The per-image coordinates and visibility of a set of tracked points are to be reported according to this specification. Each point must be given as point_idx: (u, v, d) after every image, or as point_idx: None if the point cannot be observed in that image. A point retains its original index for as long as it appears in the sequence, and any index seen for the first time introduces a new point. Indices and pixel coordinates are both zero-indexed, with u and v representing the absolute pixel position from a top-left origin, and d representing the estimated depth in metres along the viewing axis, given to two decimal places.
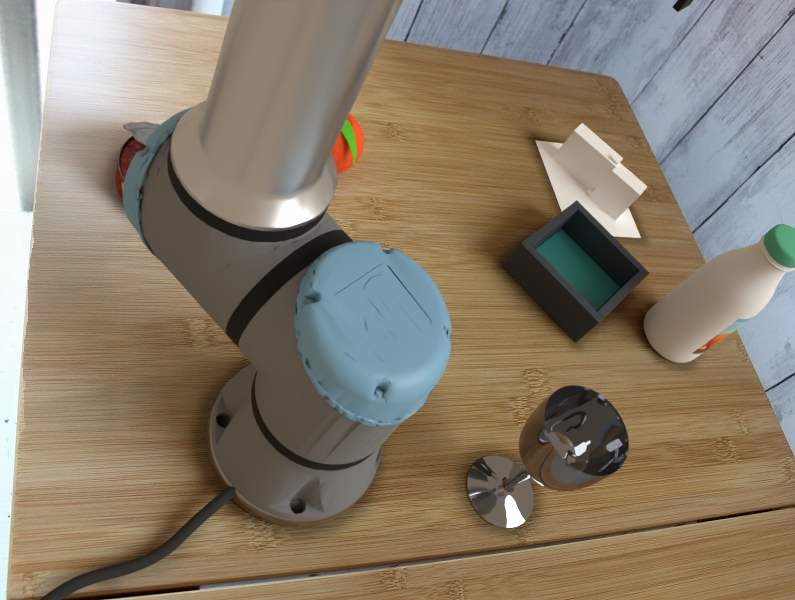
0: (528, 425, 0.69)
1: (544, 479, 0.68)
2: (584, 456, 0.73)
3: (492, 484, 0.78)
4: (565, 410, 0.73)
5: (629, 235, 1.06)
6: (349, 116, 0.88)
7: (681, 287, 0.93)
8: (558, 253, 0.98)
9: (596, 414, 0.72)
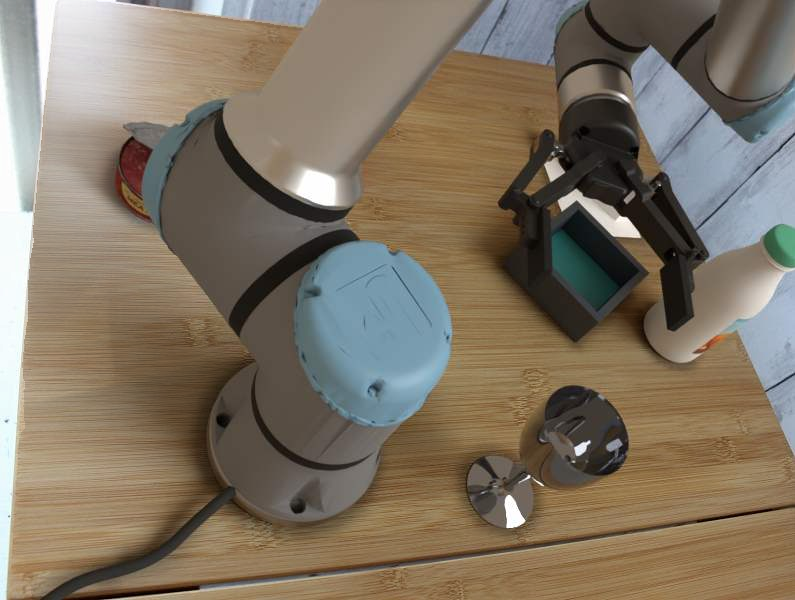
0: (528, 425, 0.69)
1: (544, 479, 0.68)
2: (584, 456, 0.73)
3: (492, 484, 0.78)
4: (565, 410, 0.73)
5: (629, 235, 1.06)
6: None
7: None
8: (558, 253, 0.98)
9: (596, 413, 0.72)
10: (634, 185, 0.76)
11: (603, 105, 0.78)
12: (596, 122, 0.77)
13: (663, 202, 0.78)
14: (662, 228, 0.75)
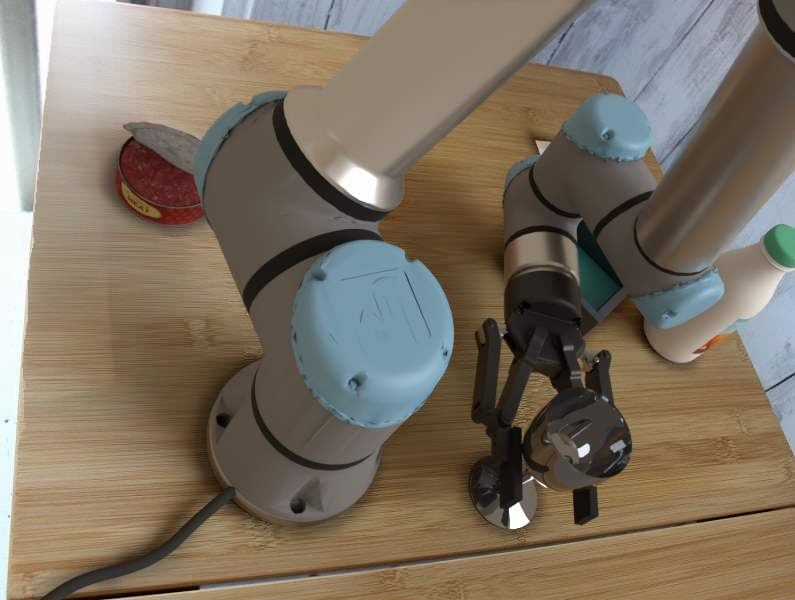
0: (531, 427, 0.69)
1: (547, 481, 0.68)
2: (587, 457, 0.72)
3: (495, 485, 0.78)
4: (568, 411, 0.73)
5: None
6: None
7: None
8: None
9: (599, 415, 0.72)
10: (574, 361, 0.78)
11: (544, 279, 0.79)
12: (536, 298, 0.78)
13: (595, 379, 0.79)
14: None
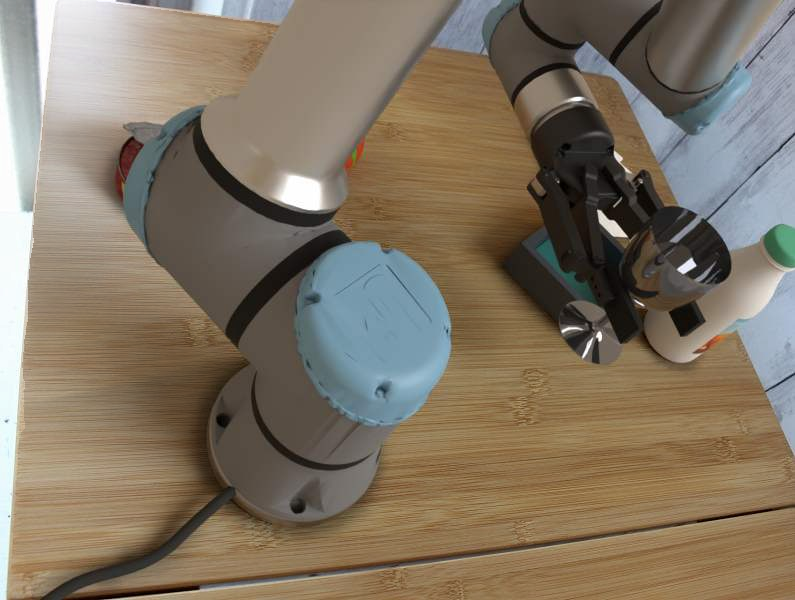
0: (634, 258, 0.70)
1: (663, 303, 0.70)
2: None
3: (584, 328, 0.79)
4: None
5: None
6: None
7: None
8: None
9: (680, 229, 0.73)
10: (626, 187, 0.79)
11: (576, 116, 0.78)
12: (576, 137, 0.77)
13: (645, 199, 0.80)
14: None
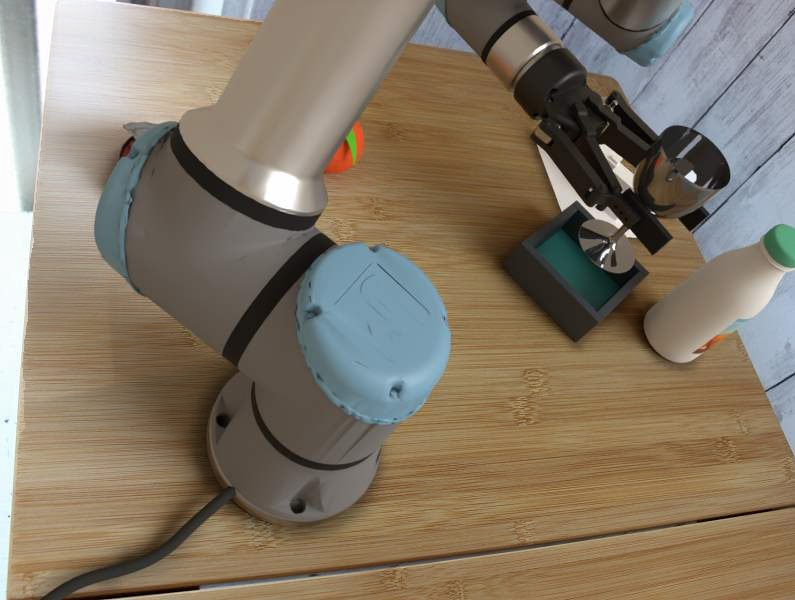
0: (653, 181, 0.80)
1: (682, 212, 0.81)
2: None
3: (603, 244, 0.90)
4: None
5: (629, 235, 1.06)
6: None
7: (681, 287, 0.93)
8: (558, 253, 0.98)
9: (674, 142, 0.83)
10: (610, 113, 0.87)
11: (554, 61, 0.85)
12: (561, 80, 0.85)
13: (624, 117, 0.90)
14: (640, 147, 0.87)
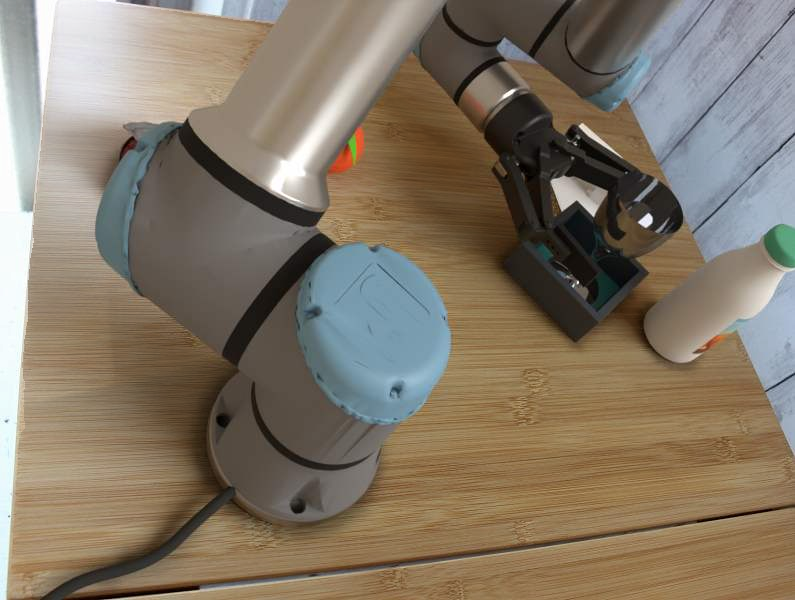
0: (610, 225, 0.85)
1: (638, 253, 0.86)
2: (634, 219, 0.91)
3: (568, 279, 0.95)
4: None
5: None
6: None
7: (681, 287, 0.93)
8: None
9: (632, 186, 0.89)
10: (574, 154, 0.93)
11: (521, 106, 0.90)
12: (527, 124, 0.90)
13: (588, 149, 0.96)
14: (608, 173, 0.94)
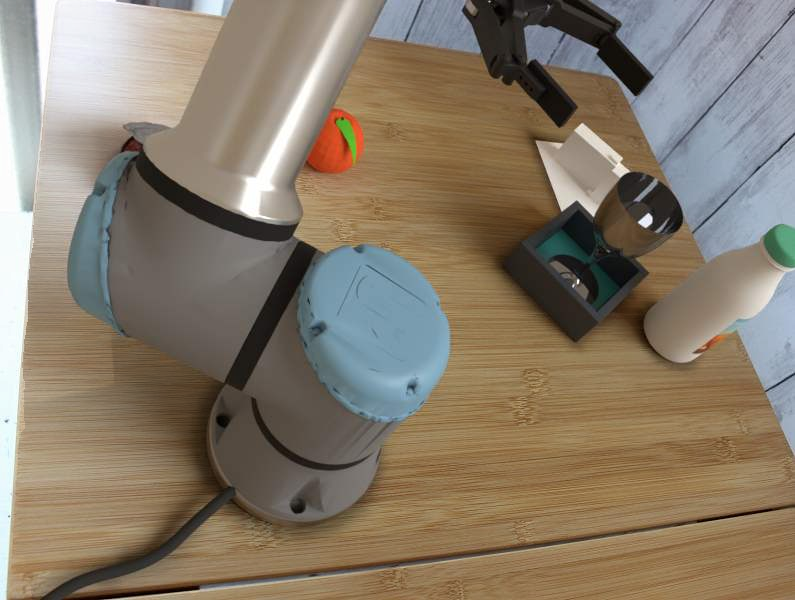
0: (610, 225, 0.85)
1: (638, 254, 0.86)
2: (634, 219, 0.91)
3: (568, 279, 0.95)
4: None
5: None
6: (349, 116, 0.88)
7: (681, 287, 0.93)
8: (558, 253, 0.98)
9: (632, 186, 0.89)
10: None
11: None
12: None
13: None
14: (586, 21, 0.89)
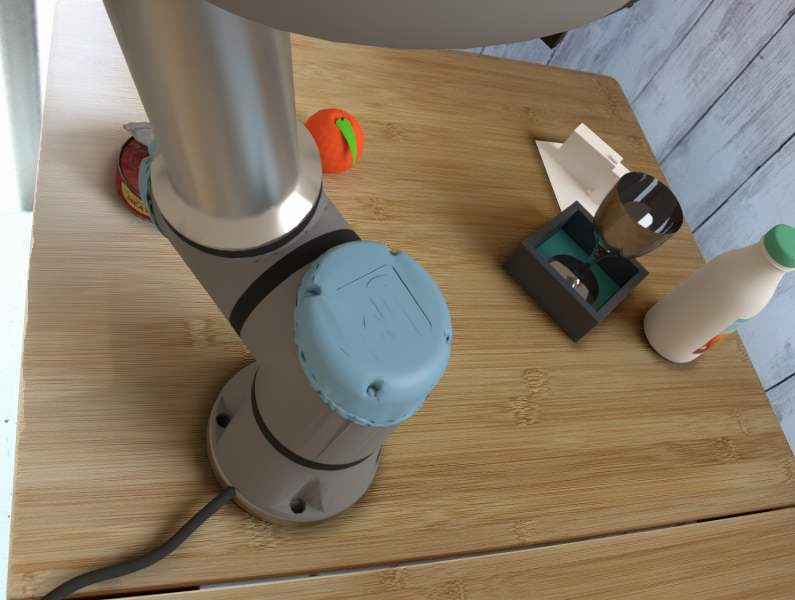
0: (610, 225, 0.85)
1: (638, 254, 0.86)
2: (634, 219, 0.91)
3: (568, 279, 0.95)
4: None
5: None
6: (349, 116, 0.88)
7: (681, 287, 0.93)
8: (558, 253, 0.98)
9: (632, 186, 0.89)
10: None
11: None
12: None
13: None
14: None
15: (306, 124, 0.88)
